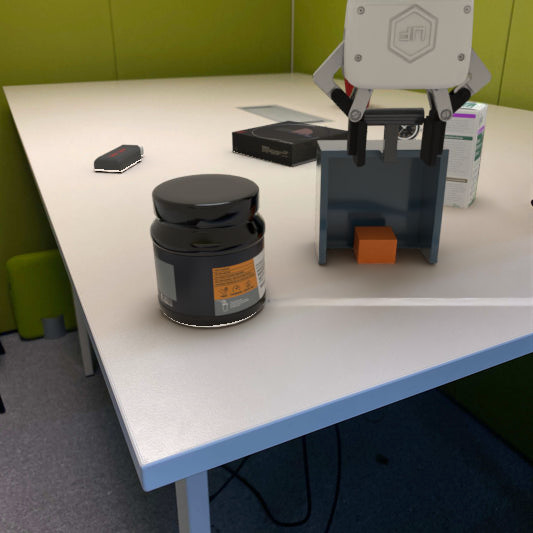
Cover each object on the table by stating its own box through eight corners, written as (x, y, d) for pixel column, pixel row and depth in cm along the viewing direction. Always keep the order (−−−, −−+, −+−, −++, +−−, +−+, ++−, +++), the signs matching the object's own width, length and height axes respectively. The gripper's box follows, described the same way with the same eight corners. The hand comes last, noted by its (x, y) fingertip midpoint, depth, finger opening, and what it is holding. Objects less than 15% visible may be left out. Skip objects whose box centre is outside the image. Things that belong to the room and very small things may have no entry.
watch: (383, 182, 91) (388, 114, 86) (381, 169, 98) (386, 105, 93) (417, 183, 90) (425, 114, 85) (413, 169, 97) (420, 106, 92)
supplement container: (288, 311, 53) (288, 190, 47) (191, 347, 47) (179, 216, 42) (230, 272, 60) (225, 165, 55) (141, 300, 55) (126, 184, 50)
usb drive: (94, 172, 98) (92, 157, 97) (124, 155, 109) (122, 142, 108) (121, 173, 97) (119, 158, 96) (148, 156, 108) (147, 142, 107)
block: (397, 239, 58) (394, 273, 60) (390, 226, 62) (387, 258, 63) (359, 240, 58) (357, 273, 60) (354, 226, 62) (352, 258, 63)
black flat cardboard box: (350, 150, 110) (351, 130, 109) (292, 166, 100) (292, 144, 98) (290, 138, 121) (291, 120, 119) (232, 152, 110) (231, 132, 109)
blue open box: (317, 100, 59) (324, 109, 50) (435, 99, 59) (464, 107, 50) (314, 247, 65) (320, 279, 56) (421, 247, 65) (444, 279, 56)
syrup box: (466, 217, 75) (483, 108, 69) (423, 211, 78) (435, 105, 71) (474, 205, 79) (490, 102, 73) (433, 199, 82) (445, 99, 76)
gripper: (305, -70, 40) (301, 174, 47) (546, -73, 39) (502, 174, 47) (301, -59, 46) (297, 153, 54) (506, -61, 46) (473, 153, 54)
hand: (393, 161), depth 50 cm, fingers closed on blue open box, 5 cm apart
